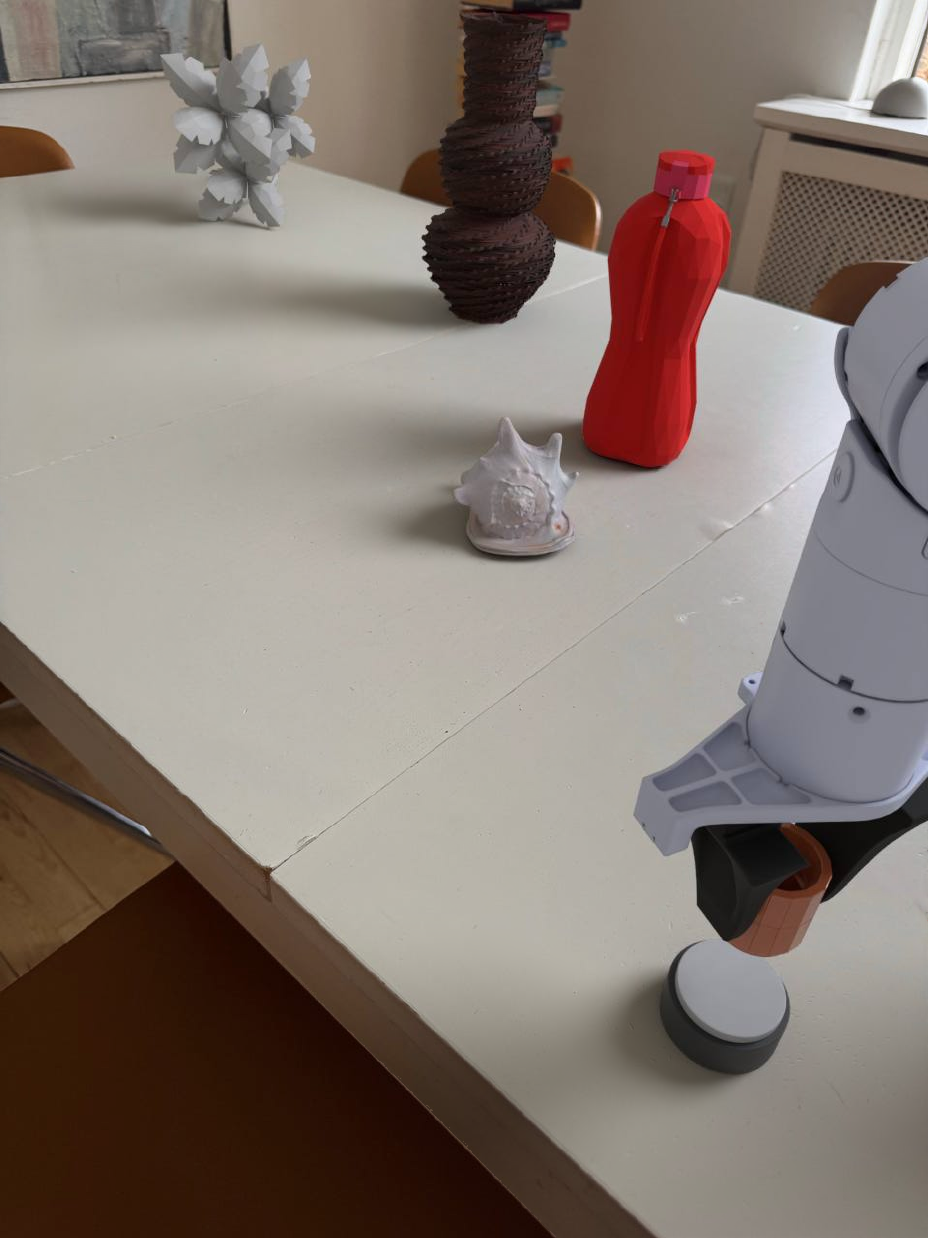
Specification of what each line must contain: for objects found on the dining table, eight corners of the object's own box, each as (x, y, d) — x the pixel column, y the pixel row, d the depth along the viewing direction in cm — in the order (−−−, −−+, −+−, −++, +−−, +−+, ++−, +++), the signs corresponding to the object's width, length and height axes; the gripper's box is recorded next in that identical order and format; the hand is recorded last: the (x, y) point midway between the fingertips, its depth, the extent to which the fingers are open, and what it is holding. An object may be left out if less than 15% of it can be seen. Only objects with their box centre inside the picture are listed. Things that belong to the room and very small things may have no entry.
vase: (561, 335, 110) (599, 30, 92) (428, 335, 108) (440, 21, 90) (533, 289, 122) (562, 11, 104) (412, 289, 120) (420, 3, 102)
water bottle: (563, 462, 86) (605, 158, 71) (601, 415, 94) (646, 133, 79) (664, 488, 83) (730, 178, 68) (694, 438, 91) (759, 151, 76)
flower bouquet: (368, 192, 154) (366, 40, 141) (261, 249, 128) (247, 69, 116) (271, 178, 158) (262, 28, 145) (149, 230, 133) (124, 54, 120)
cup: (815, 913, 41) (845, 849, 38) (782, 981, 38) (812, 917, 36) (728, 866, 43) (751, 802, 40) (690, 928, 40) (712, 863, 38)
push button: (795, 1006, 45) (810, 975, 43) (752, 1099, 41) (766, 1069, 40) (689, 944, 47) (700, 913, 46) (639, 1027, 44) (649, 996, 42)
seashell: (461, 567, 72) (469, 454, 66) (428, 487, 81) (433, 382, 75) (590, 556, 74) (608, 446, 68) (543, 479, 83) (556, 377, 78)
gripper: (936, 540, 37) (832, 785, 45) (614, 620, 32) (562, 881, 40) (1099, 650, 32) (948, 903, 40) (749, 767, 27) (658, 1030, 35)
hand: (763, 901), depth 40 cm, fingers closed on cup, 4 cm apart
